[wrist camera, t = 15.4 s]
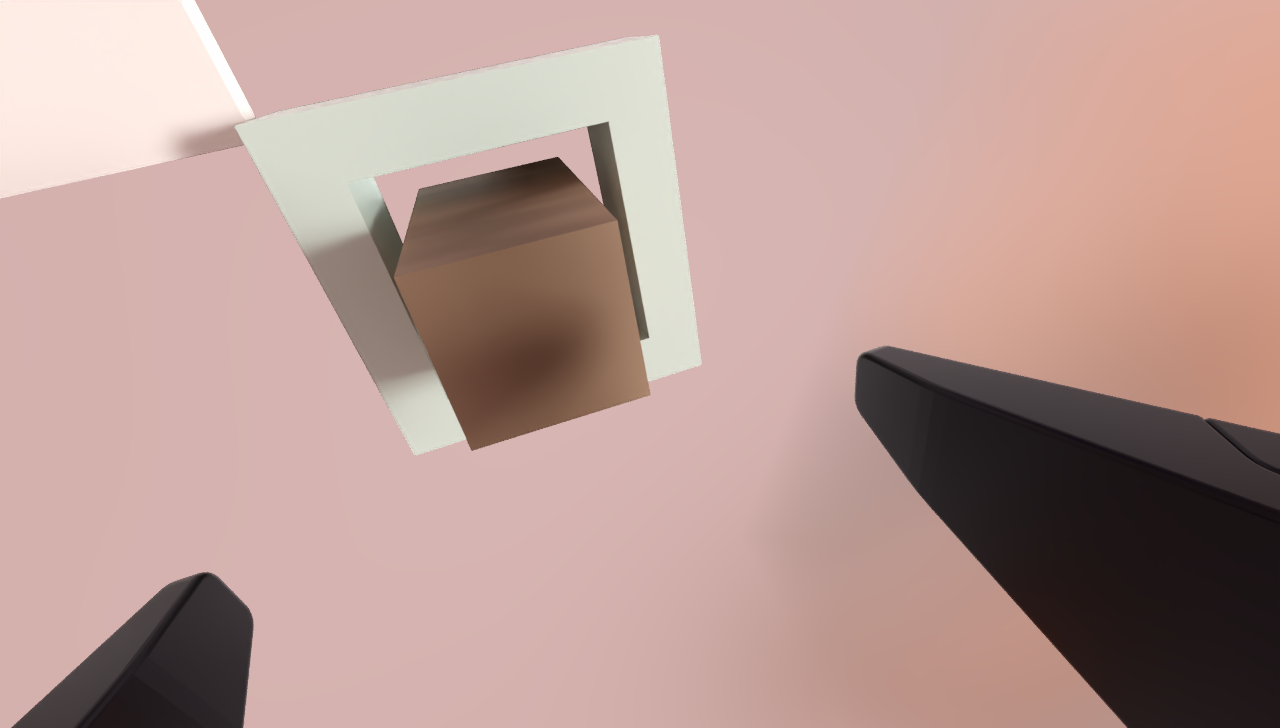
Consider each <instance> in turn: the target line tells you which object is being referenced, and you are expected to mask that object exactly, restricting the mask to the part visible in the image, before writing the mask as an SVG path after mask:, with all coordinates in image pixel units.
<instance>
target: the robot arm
mask: <svg viewBox="0 0 1280 728" xmlns="http://www.w3.org/2000/svg"><path fill="white" fill-rule="evenodd" d="M855 402H856V405H857V409H858V411H859V412H860V414H861V416H862V417H863V418H864V420H865V421H866V422H867V424H868V425H869V427H870V428H871V429H872V431H873V432H874V434H875V435H876V436H877V438H878V439H879V440H880V442H881V443H882V445H883V446H884V447H885V449H886V450H887V452H888V453H889V454H890V456H891V457H892V458H893V460H894V461H895V463H896V464H897V465H898V467H899V468H900V469H901V471H902V472H903V474H904V475H905V476H906V478H907V479H908V480H909V482H910V483H911V484H912V486H913V487H914V488H915V490H916V491H917V492H918V493H919V494H920V496H921V497H922V498H923V499H924V500H925V501H926V503H927V504H928V505H929V506H930V507H931V508H932V510H933V511H934V512H935V513H936V514H937V515H938V516H939V517H940V519H941V520H943V522H944V523H945V524H946V525H947V526H948V528H950V530H951V531H952V532H953V533H954V534H955V535H956V536H957V538H958V539H959V540H960V541H961V542H962V543H963V544H964V545H965V546H966V548H967V549H968V550H969V551H970V552H971V553H972V554H973V556H974V557H975V558H976V559H977V560H978V561H979V562H980V563H981V564H982V566H983V567H984V568H985V569H986V570H987V571H988V572H989V573H990V574H991V576H992V577H993V578H994V579H995V580H996V581H997V582H998V584H999V585H1000V586H1001V587H1002V588H1003V589H1004V590H1005V591H1006V592H1007V593H1008V595H1009V596H1010V597H1011V598H1012V599H1013V600H1014V601H1015V603H1016V604H1017V605H1018V606H1019V607H1020V608H1021V609H1022V610H1023V612H1024V613H1025V614H1026V615H1027V616H1028V617H1029V618H1030V619H1031V620H1032V622H1033V623H1034V624H1035V625H1036V626H1037V627H1038V628H1039V629H1040V631H1041V632H1042V633H1043V634H1044V635H1045V636H1046V637H1047V638H1048V640H1049V641H1050V642H1051V643H1052V644H1053V645H1054V646H1055V647H1056V648H1057V649H1058V651H1059V652H1060V653H1061V654H1062V655H1063V656H1064V657H1065V658H1066V660H1067V661H1068V662H1069V663H1070V664H1071V665H1072V666H1073V667H1074V669H1075V670H1076V671H1077V672H1078V673H1079V674H1080V675H1081V676H1082V678H1083V679H1084V680H1085V681H1086V682H1087V683H1088V684H1089V685H1090V687H1091V688H1092V689H1093V690H1094V691H1095V692H1096V693H1097V694H1098V696H1099V697H1100V698H1101V699H1102V700H1103V701H1104V702H1105V703H1106V705H1107V706H1108V707H1109V708H1110V709H1111V710H1112V711H1113V712H1114V713H1115V715H1116V716H1117V717H1118V718H1119V719H1120V720H1121V721H1122V722H1123V724H1124V725H1125V726H1126V727H1127V728H1280V434H1279V433H1274V432H1270V431H1265V430H1260V429H1256V428H1251V427H1247V426H1242V425H1238V424H1234V423H1229V422H1225V421H1220V420H1216V419H1211V418H1208V419H1205V420H1204V419H1203V418H1202V417H1200V416H1197V415H1193V414H1189V413H1184V412H1180V411H1175V410H1171V409H1166V408H1162V407H1157V406H1153V405H1149V404H1144V403H1140V402H1135V401H1131V400H1126V399H1122V398H1117V397H1113V396H1108V395H1104V394H1100V393H1095V392H1091V391H1086V390H1082V389H1077V388H1073V387H1069V386H1064V385H1059V384H1055V383H1051V382H1046V381H1042V380H1038V379H1033V378H1028V377H1024V376H1019V375H1015V374H1011V373H1006V372H1002V371H998V370H993V369H989V368H984V367H979V366H975V365H971V364H966V363H962V362H957V361H953V360H949V359H944V358H940V357H935V356H931V355H927V354H922V353H918V352H913V351H908V350H904V349H900V348H895V347H891V346H882V347H878V348H875V349H872V350H869V351H867V352H864V353H862V354H861V355H860V356H859V357H858V360H857V366H856V383H855ZM252 637H253V618H252V614H251V612H250V610H249V608H248V607H247V606H246V605H245V604H244V603H243V602H242V601H241V600H240V599H239V598H238V597H237V596H236V595H235V594H234V592H233V591H231V589H229V588H228V586H227V585H226V584H225V583H224V582H223V581H222V580H221V579H220V578H219V577H217V576H216V575H215V574H212V573H209V572H203V573H199V574H195V575H193V576H189V577H186V578H183V579H180V580H177V581H175V582H172V583H170V584H168V585H167V586H165V587H164V588H163V589H161V591H159V592H158V593H157V594H156V595H155V596H154V597H153V598H152V599H151V600H149V601H148V602H147V603H146V604H145V605H144V606H143V607H142V608H141V609H140V610H139V611H138V612H136V613H135V614H134V615H133V616H132V617H131V618H130V619H129V620H128V621H127V622H126V623H125V624H124V625H122V626H121V627H120V628H119V629H118V630H117V631H116V632H115V633H114V634H113V635H112V636H111V637H110V638H108V639H107V640H106V641H105V642H104V643H103V644H102V645H101V646H100V647H98V648H97V649H96V650H95V651H94V652H93V653H92V654H91V655H90V656H89V657H88V658H87V659H86V660H84V661H83V662H82V663H81V664H80V665H79V666H78V667H77V668H76V669H75V670H73V671H72V672H71V673H70V674H69V675H68V676H67V677H66V678H65V679H64V680H63V681H62V682H61V683H60V684H58V685H57V686H56V687H55V688H54V689H53V690H52V691H51V692H50V693H49V694H47V695H46V696H45V697H44V698H43V699H42V700H41V701H40V702H39V703H38V704H37V705H35V707H34V708H32V709H31V710H30V711H29V712H28V713H27V714H26V715H25V716H24V717H23V718H21V719H20V720H19V721H18V722H17V723H16V724H15V725H14V726H13V727H12V728H243V725H244V715H245V705H246V696H247V686H248V676H249V667H250V657H251V647H252Z"/></svg>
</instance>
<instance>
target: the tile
mask: <svg viewBox="0 0 1280 728" xmlns="http://www.w3.org/2000/svg"><path fill="white" fill-rule="evenodd" d="M253 119H256V117H255V115H254V113H253V111H252V110H251V107H250V106H249V104H248V102H247V100H246V98H245V96H244V94H243V92H242V90H241V88H240V86H239V85H238V83H237V81H236V79H235V77H234V75H233V73H232V71H231V69H230V67H229V66H228V64H227V62H226V60H225V58H224V56H223V54H222V52H221V50H220V48H219V46H218V44H217V42H216V40H215V39H214V37H213V35H212V33H211V31H210V29H209V27H208V25H207V24H206V21H205V19H204V18H203V16H202V14H201V12H200V10H199V8H198V6H197V4H196V3H195V0H0V198H5V197H10V196H14V195H19V194H23V193H28V192H32V191H37V190H41V189H46V188H50V187H55V186H60V185H64V184H69V183H73V182H78V181H83V180H86V179H91V178H96V177H101V176H105V175H109V174H114V173H119V172H123V171H128V170H132V169H137V168H142V167H146V166H151V165H155V164H159V163H164V162H168V161H173V160H178V159H182V158H187V157H192V156H196V155H201V154H205V153H210V152H214V151H219V150H223V149H228V148H233V147H237V146H241V145H244V143H243V141H242V140H241V138H240V136H239V134H238V132H237V130H236V129H235V127H234V126H235V125H238V124H241V123H244V122H247V121H250V120H253Z"/></svg>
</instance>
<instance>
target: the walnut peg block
mask: <svg viewBox="0 0 1280 728" xmlns="http://www.w3.org/2000/svg"><path fill="white" fill-rule="evenodd" d="M394 279H395V281H396V284H397V286H398V288H399V290H400V292H401V295H402V297H403V299H404V301H405V304H406V306H407V308H408V310H409V313H410V315H411V317H412V319H413V321H414V324H415V326H416V328H417V330H418V333H419V335H420V337H421V339H422V341H423V344H424V346H425V348H426V350H427V353H428V355H429V357H430V359H431V361H432V364H433V366H434V368H435V370H436V373H437V375H438V377H439V379H440V381H441V384H442V386H443V388H444V390H445V393H446V395H447V397H448V399H449V401H450V404H451V406H452V408H453V410H454V413H455V415H456V417H457V419H458V421H459V424H460V426H461V428H462V430H463V433H464V435H465V437H466V439H467V441H468V444H469V446H470V448H471V450H475V449H479V448H482V447H485V446H488V445H492V444H495V443H498V442H501V441H504V440H508V439H511V438H514V437H517V436H520V435H523V434H526V433H530V432H533V431H536V430H540V429H543V428H546V427H549V426H552V425H556V424H559V423H562V422H565V421H568V420H572V419H575V418H578V417H581V416H585V415H588V414H590V413H594V412H597V411H600V410H604V409H607V408H610V407H613V406H616V405H620V404H623V403H626V402H629V401H632V400H636V399H639V398H642V397H645V396H649V395H650V390H649V385H648V379H647V374H646V369H645V363H644V358H643V353H642V347H641V342H640V337H639V332H638V326H637V321H636V316H635V310H634V305H633V300H632V294H631V289H630V284H629V279H628V273H627V268H626V263H625V257H624V252H623V247H622V241H621V236H620V231H619V226H618V220H617V219H616V218H615V217H614V216H613V215H612V214H611V213H610V212H609V211H608V210H607V209H606V207H605V206H604V205H603V204H602V203H601V202H600V201H599V200H598V199H597V198H596V197H595V196H594V195H593V194H592V193H591V191H590V190H589V189H588V188H587V187H586V186H585V185H584V184H583V183H582V182H581V181H580V180H579V179H578V178H577V177H576V175H575V174H574V173H573V172H572V171H571V170H570V169H569V168H568V167H567V166H566V165H565V164H564V163H563V162H562V160H561V159H560V158H558V157H555V158H551V159H547V160H542V161H538V162H533V163H529V164H525V165H521V166H517V167H512V168H507V169H504V170H499V171H495V172H491V173H486V174H482V175H477V176H473V177H469V178H464V179H460V180H456V181H452V182H447V183H443V184H439V185H435V186H430V187H426V188H422V189H419V191H418V194H417V198H416V202H415V205H414V208H413V212H412V216H411V219H410V222H409V226H408V229H407V233H406V236H405V240H404V243H403V247H402V250H401V254H400V257H399V261H398V264H397V268H396V271H395V275H394Z"/></svg>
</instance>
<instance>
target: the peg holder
mask: <svg viewBox="0 0 1280 728" xmlns="http://www.w3.org/2000/svg"><path fill="white" fill-rule="evenodd" d="M234 127H235V129H236V130H237V132H238V134H239V136H240V138H241V140H242V141H243V143H244V145H245V147H246V149H247V150H248V152H249V154H250V156H251V158H252V160H253V161H254V163H255V165H256V167H257V169H258V171H259V172H260V174H261V176H262V178H263V180H264V181H265V183H266V185H267V187H268V189H269V190H270V192H271V194H272V196H273V198H274V200H275V202H276V203H277V205H278V207H279V209H280V211H281V213H282V214H283V216H284V218H285V220H286V222H287V224H288V225H289V227H290V229H291V230H292V233H293V234H294V236H295V238H296V240H297V242H298V244H299V245H300V247H301V249H302V251H303V253H304V254H305V256H306V258H307V260H308V262H309V264H310V265H311V267H312V269H313V271H314V273H315V275H316V276H317V278H318V280H319V282H320V284H321V286H322V287H323V289H324V291H325V293H326V295H327V297H328V298H329V300H330V302H331V304H332V306H333V307H334V309H335V311H336V313H337V314H338V317H339V318H340V320H341V322H342V324H343V326H344V328H345V329H346V331H347V333H348V335H349V337H350V338H351V340H352V342H353V344H354V346H355V347H356V349H357V351H358V353H359V355H360V357H361V358H362V360H363V362H364V364H365V365H366V368H367V369H368V371H369V373H370V375H371V377H372V379H373V380H374V382H375V384H376V386H377V388H378V390H379V391H380V393H381V395H382V397H383V399H384V400H385V402H386V404H387V406H388V408H389V410H390V412H391V413H392V415H393V417H394V419H395V420H396V422H397V424H398V426H399V428H400V430H401V432H402V433H403V435H404V437H405V439H406V441H407V442H408V444H409V446H410V448H411V450H412V452H413V453H414V455H415V456H416V455H419V454H422V453H425V452H428V451H431V450H435V449H438V448H441V447H444V446H447V445H450V444H454V443H457V442H460V441H463V440H466V437H465V435H464V433H463V430H462V428H461V426H460V424H459V421H458V419H457V417H456V415H455V413H454V410H453V408H452V406H451V404H450V401H449V399H448V397H447V395H446V393H445V390H444V388H443V386H442V384H441V381H440V379H439V377H438V375H437V373H436V370H435V368H434V366H433V364H432V361H431V359H430V357H429V355H428V353H427V350H426V348H425V346H424V344H423V341H422V339H421V337H420V335H419V333H418V330H417V328H416V326H415V324H414V321H413V319H412V317H411V315H410V313H409V310H408V308H407V306H406V304H405V301H404V299H403V297H402V295H401V292H400V290H399V288H398V286H397V284H396V281H395V279H394V275H395V271H396V268H397V264H398V261H399V257H400V254H401V250H402V247H403V243H402V241H401V239H400V236H399V234H398V232H397V230H396V227H395V225H394V223H393V220H392V218H391V216H390V213H389V211H388V209H387V206H386V204H385V202H384V200H383V198H382V195H381V193H380V190H379V188H378V186H377V184H376V182H375V179H374V177H376V176H380V175H384V174H389V173H393V172H397V171H401V170H406V169H410V168H414V167H418V166H422V165H426V164H431V163H435V162H439V161H443V160H447V159H452V158H456V157H460V156H464V155H469V154H473V153H477V152H482V151H486V150H490V149H494V148H498V147H502V146H507V145H511V144H515V143H520V142H524V141H528V140H532V139H537V138H541V137H545V136H549V135H553V134H558V133H561V132H566V131H570V130H574V129H579V128H583V127H587V128H588V133H589V137H590V142H591V147H592V152H593V156H594V161H595V166H596V171H597V176H598V180H599V185H600V190H601V194H602V199H603V204H604V206H605V207H606V209H607V210H608V211H609V212H610V213H611V214H612V215H613V216H614V217H615V218H616V219H617V220H618V226H619V231H620V236H621V241H622V247H623V252H624V257H625V263H626V268H627V273H628V279H629V284H630V289H631V294H632V300H633V305H634V310H635V316H636V321H637V326H638V332H639V337H640V342H641V347H642V353H643V358H644V363H645V369H646V374H647V379H648V382H649V381H652V380H655V379H658V378H661V377H665V376H668V375H671V374H674V373H677V372H680V371H684V370H687V369H690V368H693V367H696V366H699V365H701V364H702V363H701V355H700V347H699V340H698V332H697V324H696V317H695V309H694V301H693V294H692V286H691V278H690V270H689V263H688V255H687V248H686V240H685V233H684V226H683V217H682V210H681V202H680V194H679V186H678V179H677V171H676V164H675V155H674V148H673V140H672V132H671V125H670V117H669V109H668V102H667V95H666V86H665V79H664V71H663V63H662V56H661V48H660V41H659V35H651V36H637V37H625V38H620V39H615V40H611V41H606V42H601V43H596V44H591V45H587V46H582V47H577V48H573V49H568V50H564V51H559V52H554V53H550V54H544V55H540V56H535V57H531V58H526V59H521V60H516V61H512V62H507V63H502V64H498V65H493V66H489V67H483V68H479V69H474V70H469V71H465V72H460V73H456V74H451V75H446V76H442V77H436V78H432V79H427V80H422V81H418V82H413V83H408V84H404V85H399V86H394V87H389V88H385V89H380V90H376V91H371V92H366V93H361V94H357V95H352V96H347V97H343V98H338V99H333V100H328V101H324V102H319V103H314V104H310V105H305V106H300V107H296V108H291V109H286V110H281V111H277V112H274V113H271V114H268V115H265V116H262V117H259V118H256V119H253V120H250V121H247V122H244V123H241V124H238V125H235V126H234Z"/></svg>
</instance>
